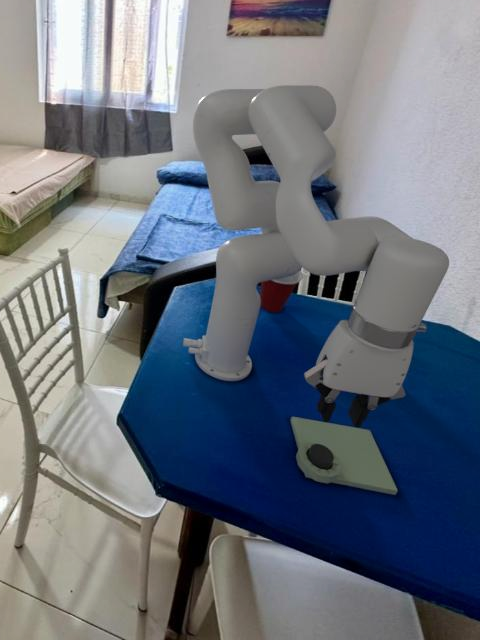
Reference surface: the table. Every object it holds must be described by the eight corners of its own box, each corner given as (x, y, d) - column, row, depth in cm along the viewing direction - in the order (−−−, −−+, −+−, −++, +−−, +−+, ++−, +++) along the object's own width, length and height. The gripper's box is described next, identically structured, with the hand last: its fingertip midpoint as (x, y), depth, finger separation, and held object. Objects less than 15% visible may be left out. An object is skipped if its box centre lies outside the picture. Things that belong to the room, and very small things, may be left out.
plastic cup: (254, 315, 110) (264, 278, 104) (247, 294, 119) (256, 258, 113) (296, 320, 108) (309, 282, 102) (286, 298, 118) (297, 262, 112)
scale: (299, 482, 68) (304, 471, 67) (283, 419, 80) (287, 408, 78) (398, 502, 66) (406, 491, 64) (367, 434, 77) (373, 423, 76)
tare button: (310, 467, 68) (313, 460, 67) (305, 448, 71) (308, 441, 70) (333, 471, 67) (336, 464, 67) (327, 452, 71) (330, 445, 70)
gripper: (433, 318, 57) (385, 408, 66) (308, 301, 60) (278, 390, 69) (464, 353, 51) (407, 448, 60) (322, 333, 54) (287, 427, 62)
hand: (338, 416), depth 64 cm, fingers open, 3 cm apart
